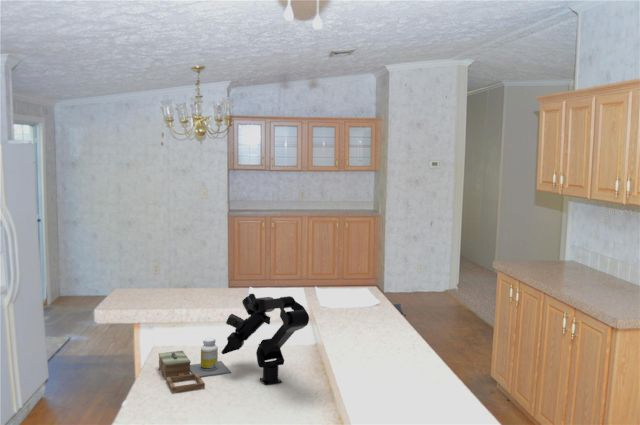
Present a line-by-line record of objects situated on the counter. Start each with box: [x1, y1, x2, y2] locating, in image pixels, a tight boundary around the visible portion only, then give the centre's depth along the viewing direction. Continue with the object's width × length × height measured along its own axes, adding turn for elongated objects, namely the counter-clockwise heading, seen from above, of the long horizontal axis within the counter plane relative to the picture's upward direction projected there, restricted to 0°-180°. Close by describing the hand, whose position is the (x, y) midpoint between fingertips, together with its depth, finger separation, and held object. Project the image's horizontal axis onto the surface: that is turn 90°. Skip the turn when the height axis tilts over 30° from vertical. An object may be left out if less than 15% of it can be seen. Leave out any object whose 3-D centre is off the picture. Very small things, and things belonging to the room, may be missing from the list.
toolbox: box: [158, 350, 206, 394], centre depth 204 cm, size 28×11×7 cm, turn 26°
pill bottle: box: [200, 337, 219, 371], centre depth 214 cm, size 6×6×12 cm
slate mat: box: [190, 360, 232, 379], centre depth 214 cm, size 14×14×1 cm
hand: (225, 349), depth 213 cm, fingers open, 9 cm apart
